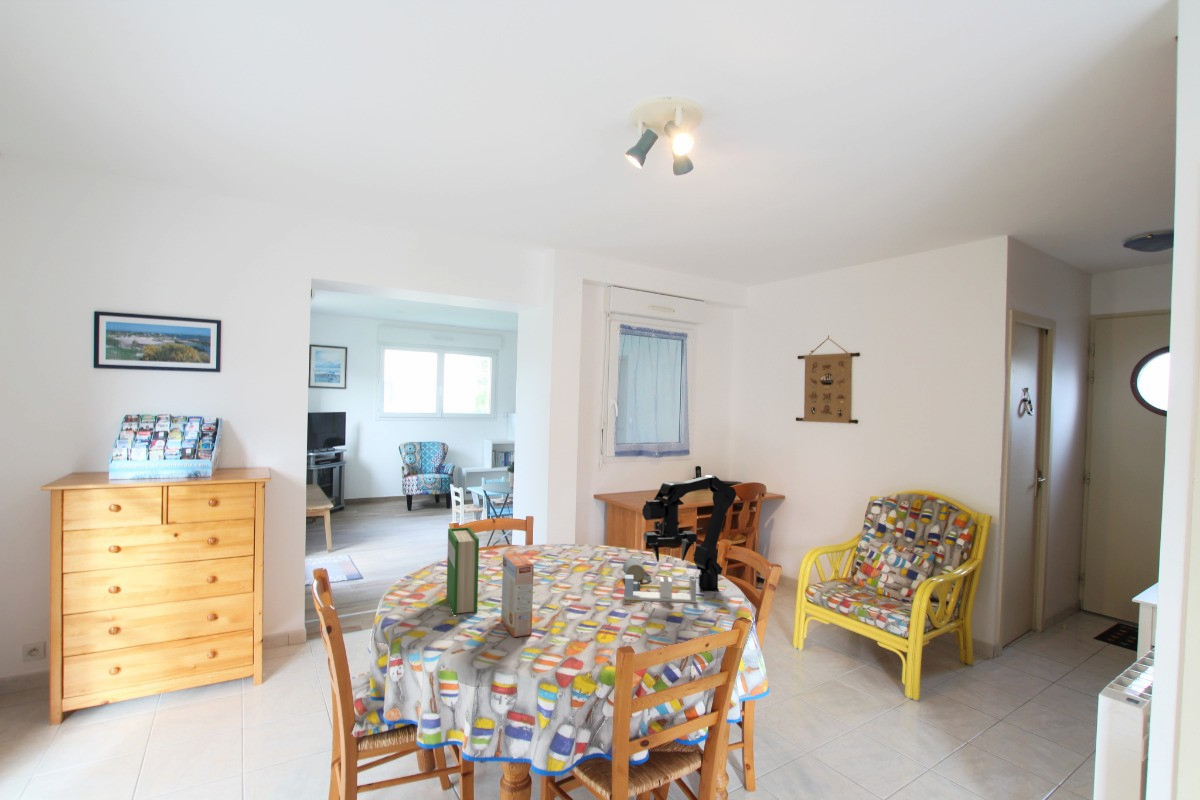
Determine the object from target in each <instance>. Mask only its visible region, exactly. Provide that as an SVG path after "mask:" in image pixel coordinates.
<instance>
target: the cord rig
mask: <svg viewBox="0 0 1200 800" xmlns="http://www.w3.org/2000/svg"><path fill="white" fill-rule="evenodd" d="M641 589H646V590H660V585H653V584H641V581H639V582H633V575H625V574H624V600H627V601H648V602H649V601H650V602H652V601H653V602H671V603H672V602H677V603H697V580H696V579H695V575H689V586H683V585H681V586H680V585H679V586H677V585H672V591H674V590H675V591H688V593H685V592H684V593H679V592H672V597H660V592H659V591H658V592H657V591H655V592H653V591H641Z"/></svg>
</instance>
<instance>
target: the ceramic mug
mask: <svg viewBox="0 0 1200 800" xmlns="http://www.w3.org/2000/svg"><path fill="white" fill-rule="evenodd" d="M622 567H623V568H622V569H623V574H624V576H625V575H633V582H641V581H642V580H644V581H647V582H650V581H651V579H652V575H651V574H650V573H648V572H646V571H645V569H644V567H643V565H642V562H641V561H640V560H639V559H638V558H636V557H631V558H627V559H626V560H625V561H624V563H623V565H622Z"/></svg>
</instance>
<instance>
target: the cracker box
mask: <svg viewBox="0 0 1200 800" xmlns="http://www.w3.org/2000/svg"><path fill="white" fill-rule="evenodd" d="M534 567H535V566H534V563H533V562H532V561H530V560H529V559H527V558H526V557H525V556H524V555H523V554H522V553H520V552H515V553H513V552H512V553H506V554H502V583H501V584H502V585H501V614H500V615H501V618H500V620H501V622H502V624H503V625H504V626H505V628H506V629H507V631H508V632H509V633H510V635H511V636H512V637H513V638H519V637H525V636H532V634H533V633H532V631H533V627H532V626H533V604H534V603H533V601H534V599H533V598H534V597H533V596H534Z"/></svg>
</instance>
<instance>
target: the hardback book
mask: <svg viewBox="0 0 1200 800" xmlns="http://www.w3.org/2000/svg"><path fill="white" fill-rule="evenodd" d="M479 543H480V538H479V537H478V536H477V535H476V534H475V532H474V531H473V529H471V527H469V526H467V527H466V526H465V527H455V528H454V527H453V528H447V560H446V561H447V563H446V565H447V566H446V567H447V568H446V572H447V573H446V600H447V599H448V600H447V603H448V602H449V603H448V605H449V604H450V606H449V608H450V607H451V608H450V610H451V609H452V611H451V613H452V612H453V614H454V615H457V614H462V613H472V612H473V611H474V612H473V614H474V613H477V614H478V603H479V602H478V601H479V600H478V598H479V595H478V594H479V558H480V557H479V553H480V550H479V549H480V548H479V547H480V544H479ZM453 614H452V615H453ZM457 616H458V615H457Z"/></svg>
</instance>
